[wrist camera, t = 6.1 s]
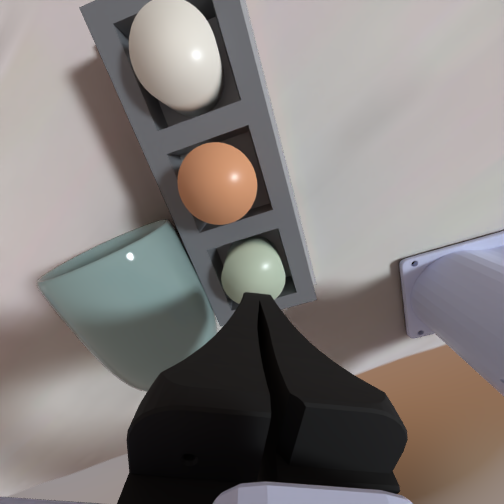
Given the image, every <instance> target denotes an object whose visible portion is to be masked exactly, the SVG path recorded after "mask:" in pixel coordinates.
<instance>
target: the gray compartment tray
mask: <svg viewBox="0 0 504 504" xmlns="http://www.w3.org/2000/svg"><path fill="white" fill-rule="evenodd" d="M150 1H152V0H95V1H93V2H91V3H88V4H86V5H84V6H82V7H79V8H80V10H81V13H82V15H83V17H84V19H85V22H86V24H87V26H88V29H89V31H90V33H91V35H92V38H93V40H94V42H95V44H96V47H97V49H98V51H99V53H100V56H101V58H102V60H103V62H104V65H105V67H106V69H107V71H108V74H109V76H110V78H111V80H112V83H113V85H114V87H115V89H116V92H117V94H118V96H119V98H120V101H121V103H122V105H123V108H124V110H125V112H126V114H127V117H128V119H129V121H130V123H131V126H132V128H133V130H134V132H135V135H136V137H137V139H138V141H139V144H140V146H141V148H142V150H143V153H144V155H145V157H146V159H147V162H148V164H149V166H150V168H151V171H152V173H153V175H154V177H155V180H156V182H157V184H158V187H159V189H160V191H161V193H162V196H163V198H164V200H165V202H166V205H167V207H168V209H169V211H170V214H171V216H172V218H173V220H174V223H175V225H176V227H177V229H178V232H179V234H180V236H181V238H182V241H183V243H184V245H185V247H186V250H187V252H188V254H189V256H190V259H191V261H192V263H193V266H194V268H195V270H196V272H197V275H198V277H199V279H200V281H201V284H202V286H203V288H204V290H205V293H206V295H207V297H208V299H209V302H210V304H211V306H212V308H213V311H214V313H215V315H216V317H217V320H218V322H219V324H220V326H223V325H225V324H226V323H227V321H228V320H229V319H230V317H231V316H232V315H233V313H234V312H235V310H236V309H237V307H238V305H239V304H238V303H236V302H235V301H233V300H232V299H231V298H230V297H229V296H228V295H227V294H226V292H225V291H224V289H223V286H222V281H221V276H222V271H223V267H224V263H225V259H226V256H227V252H228V250H229V248H230V246H231V245H232V244H233V243H234V242H235V241H238V240H241V239H245V238H248V237H251V236H254V235H257V236H262V237H264V238H266V239H268V240H270V241H271V242H272V243H273V244H274V245H275V246H276V248H277V250H278V252H279V255H280V258H281V261H282V265H283V268H284V271H285V285H284V288H283V290H282V292H281V293H280V295H279V296H278V297H277V298H276V299H275V302H276V303H277V305H278V306H279V308H280V309H285V308H289V307H292V306H296V305H300V304H303V303H307V302H311V301H314V300H317V298H316V294H315V290H314V285H317V283H316V279H315V275H314V271H313V267H312V263H311V259H310V255H309V251H308V247H307V243H306V239H305V235H304V232H303V228H302V224H301V220H300V216H299V212H298V208H297V204H296V200H295V196H294V192H293V188H292V184H291V180H290V176H289V172H288V168H287V164H286V160H285V156H284V152H283V148H282V144H281V140H280V136H279V132H278V128H277V124H276V120H275V116H274V112H273V108H272V104H271V100H270V96H269V92H268V88H267V85H266V81H265V77H264V73H263V69H262V65H261V61H260V57H259V53H258V49H257V45H256V41H255V37H254V33H253V29H252V25H251V21H250V17H249V13H248V9H247V5H246V1H245V0H185V1H187V2H189V3H190V4H192V5H193V6H195V7H196V8H197V9H198V10H199V11H200V12H201V13H202V14H203V16H204V17H205V18H206V20H207V21H208V23H209V25H210V27H211V29H212V31H213V34H214V37H215V40H216V44H217V47H218V51H219V54H220V58H221V61H222V65H223V69H224V88H223V92H222V95H221V98H220V100H219V101H218V103H217V104H216V106H215V107H214V108H213V109H212V110H211V111H209V112H208V113H205V114H203V115H200V116H196V117H189V116H184V115H181V114H179V113H177V112H175V111H174V110H172V109H171V108H170V107H168V106H167V105H165V104H164V103H162V102H161V101H160V100H158V99H157V98H155V97H154V96H153V95H151V94H150V93H149V92H148V91H147V90H146V89H145V88H144V86H143V85H142V84H141V83H140V81H139V79H138V78H137V76H136V74H135V72H134V69H133V66H132V63H131V59H130V54H129V35H130V30H131V26H132V23H133V21H134V19H135V17H136V15H137V14H138V12H139V11H140V10H141V9H142V7H143V6H144V5H146V4H147V3H148V2H150ZM211 142H220V143H225V144H228V145H231V146H233V147H235V148H237V149H238V150H240V151H241V152H242V153H243V154H244V155H245V156H246V157H247V158H248V159H249V161H250V162H251V164H252V166H253V168H254V171H255V173H256V178H257V193H256V197H255V200H254V203H253V205H252V207H251V208H250V210H249V211H248V212H247V213H246V214H245V215H244V216H243V217H242V218H240V219H239V220H237V221H235V222H232V223H229V224H224V225H214V224H209V223H206V222H204V221H201V220H200V219H198V218H196V217H195V216H194V215H192V214H191V213H190V212H189V210H188V209H187V208H186V207H185V205H184V204H183V202H182V200H181V197H180V195H179V191H178V183H177V180H178V172H179V169H180V166H181V164H182V162H183V160H184V158H185V157H186V156H187V155H188V154H189V153H190V152H191V151H192V150H193V149H195V148H196V147H198V146H200V145H202V144H206V143H211Z"/></svg>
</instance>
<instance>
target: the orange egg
mask: <svg viewBox="0 0 504 504" xmlns="http://www.w3.org/2000/svg"><path fill="white" fill-rule="evenodd" d="M177 183H178V191H179V195H180V197H181V200H182V202H183V204H184V205H185V207H186V208H187V209H188V210H189V212H190V213H191V214H192V215H194V216H195V217H196V218H198V219H200V220H201V221H204V222H206V223H209V224H214V225H224V224H229V223H232V222H235V221H237V220H239V219H240V218H242V217H243V216H244V215H245V214H246V213H247V212H248V211H249V210H250V208H251V207H252V205H253V203H254V200H255V197H256V193H257V178H256V173H255V171H254V168H253V166H252V164H251V162H250V161H249V159H248V158H247V157H246V156H245V155H244V154H243V153H242V152H241V151H240V150H238V149H237V148H235V147H233V146H231V145H228V144H225V143H220V142H211V143H206V144H202V145H200V146H198V147H196V148H195V149H193V150H192V151H191V152H190V153H189V154H188V155H187V156H186V157H185V158H184V160H183V162H182V164H181V166H180V169H179V172H178V180H177Z"/></svg>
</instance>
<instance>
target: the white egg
mask: <svg viewBox="0 0 504 504" xmlns="http://www.w3.org/2000/svg"><path fill="white" fill-rule="evenodd" d="M129 54H130V59H131V63H132V66H133V69H134V72H135V74H136V76H137V78H138V79H139V81H140V83H141V84H142V85H143V86H144V88H145V89H146V90H147V91H148V92H149V93H150V94H151V95H153V96H154V97H155V98H157V99H158V100H160V101H161V102H162V103H164V104H165V105H167V106H168V107H170V108H171V109H172V110H174V111H175V112H177V113H179V114H181V115H184V116H189V117H196V116H200V115H203V114H205V113H208V112H209V111H211V110H212V109H213V108H214V107H215V106H216V104H217V103H218V101H219V100H220V98H221V95H222V92H223V88H224V69H223V65H222V61H221V58H220V54H219V51H218V47H217V44H216V40H215V37H214V34H213V31H212V29H211V27H210V25H209V23H208V21H207V20H206V18H205V17H204V16H203V14H202V13H201V12H200V11H199V10H198V9H197V8H196V7H195V6H193V5H192V4H190V3H189V2H187V1H185V0H152V1H150V2H148V3H147V4H146V5H144V6H143V7H142V9H141V10H140V11H139V12H138V14H137V15H136V17H135V19H134V21H133V23H132V26H131V30H130V35H129Z"/></svg>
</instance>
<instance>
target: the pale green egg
mask: <svg viewBox="0 0 504 504" xmlns="http://www.w3.org/2000/svg"><path fill="white" fill-rule="evenodd" d="M221 281H222V286H223V289H224V291H225V292H226V294H227V295H228V296H229V297H230V298H231V299H232V300H233V301H235V302H236V303H238V304H240V302H241V299H242V297H243V293H245V292H251V293H260V294H269V295H271V296H272V298H273V299H274V300H275V299H276V298H277V297H278V296H279V295H280V293H281V292H282V290H283V288H284V285H285V271H284V268H283V265H282V261H281V258H280V255H279V252H278V250H277V248H276V246H275V245H274V244H273V243H272V242H271V241H270V240H268V239H266V238H264V237H262V236H257V235H254V236H251V237H248V238H245V239H241V240H238V241H235V242H234V243H233V244H232V245H231V246H230V248H229V250H228V252H227V256H226V259H225V263H224V267H223V271H222V276H221Z"/></svg>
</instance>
